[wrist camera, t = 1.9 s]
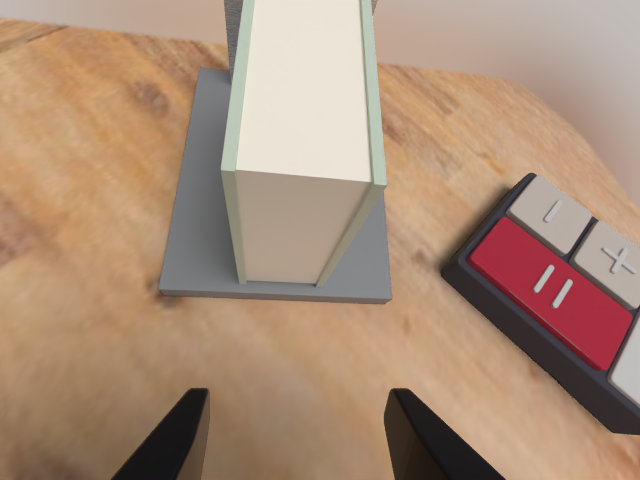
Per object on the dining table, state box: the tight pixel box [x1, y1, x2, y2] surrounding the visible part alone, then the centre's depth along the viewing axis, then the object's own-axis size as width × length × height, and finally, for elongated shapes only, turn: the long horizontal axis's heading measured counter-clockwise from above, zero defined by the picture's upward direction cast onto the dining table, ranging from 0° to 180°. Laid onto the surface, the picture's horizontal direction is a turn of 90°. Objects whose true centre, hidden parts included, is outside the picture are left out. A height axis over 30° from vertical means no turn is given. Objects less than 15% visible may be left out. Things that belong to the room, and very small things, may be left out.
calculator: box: [441, 173, 640, 435], centre depth 25 cm, size 11×4×15 cm
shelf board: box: [159, 68, 392, 304], centre depth 25 cm, size 18×14×2 cm
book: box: [221, 0, 387, 288], centre depth 18 cm, size 11×5×12 cm, turn 0°
